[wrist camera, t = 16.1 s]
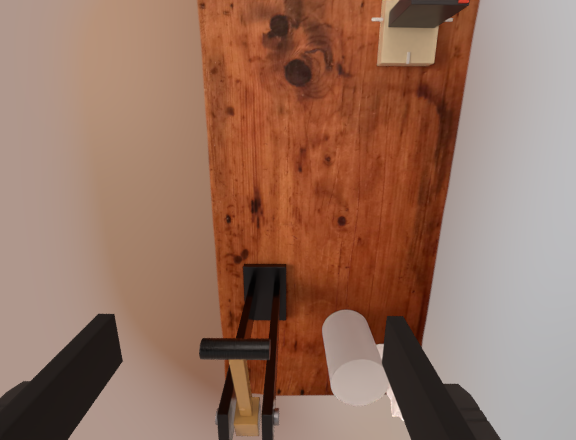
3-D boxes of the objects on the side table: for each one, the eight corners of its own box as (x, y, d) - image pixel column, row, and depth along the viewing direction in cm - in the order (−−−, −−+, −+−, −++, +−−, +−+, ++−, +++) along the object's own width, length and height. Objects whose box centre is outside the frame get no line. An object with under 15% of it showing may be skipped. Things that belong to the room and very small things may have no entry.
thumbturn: (387, 27, 40) (412, 3, 32) (389, 11, 39) (414, -18, 32) (434, 28, 40) (470, 4, 32) (436, 12, 39) (473, -17, 32)
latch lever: (203, 328, 23) (196, 359, 22) (270, 328, 23) (268, 359, 22) (225, 408, 32) (221, 436, 30) (274, 409, 32) (273, 436, 30)
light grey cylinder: (320, 348, 57) (329, 405, 45) (323, 309, 54) (332, 358, 43) (365, 349, 57) (385, 406, 45) (370, 310, 54) (392, 359, 43)
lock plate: (371, -21, 40) (375, -29, 38) (450, -21, 40) (459, -29, 38) (365, 66, 43) (368, 63, 41) (439, 67, 43) (446, 64, 41)
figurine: (396, 377, 58) (423, 438, 47) (358, 374, 58) (376, 436, 47) (403, 344, 56) (432, 401, 45) (364, 342, 56) (383, 398, 45)
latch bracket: (244, 263, 52) (203, 390, 27) (286, 264, 52) (283, 390, 27) (246, 316, 55) (210, 473, 30) (286, 316, 55) (283, 473, 30)
